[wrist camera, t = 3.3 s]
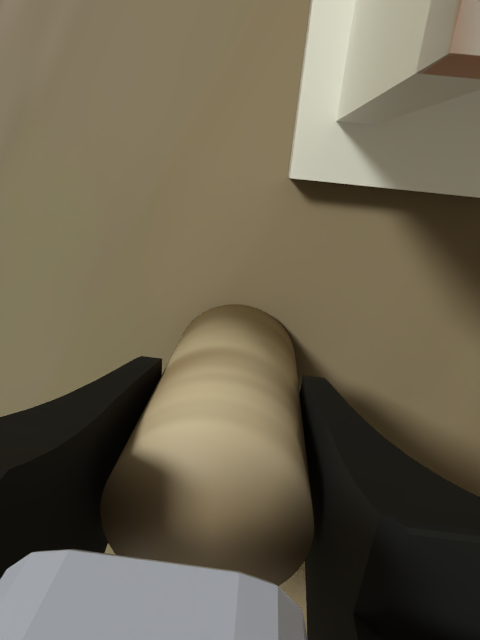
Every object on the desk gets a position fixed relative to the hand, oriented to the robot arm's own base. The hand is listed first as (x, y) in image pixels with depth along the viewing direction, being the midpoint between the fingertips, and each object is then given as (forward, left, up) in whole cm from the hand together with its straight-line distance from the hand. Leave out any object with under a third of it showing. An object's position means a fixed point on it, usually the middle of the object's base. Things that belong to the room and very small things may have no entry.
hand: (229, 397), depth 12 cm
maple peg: (0, 0, -2) cm, 2 cm away
